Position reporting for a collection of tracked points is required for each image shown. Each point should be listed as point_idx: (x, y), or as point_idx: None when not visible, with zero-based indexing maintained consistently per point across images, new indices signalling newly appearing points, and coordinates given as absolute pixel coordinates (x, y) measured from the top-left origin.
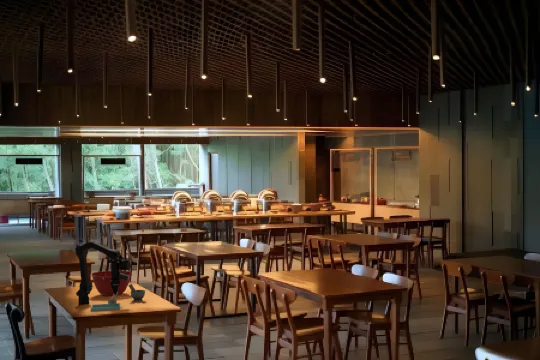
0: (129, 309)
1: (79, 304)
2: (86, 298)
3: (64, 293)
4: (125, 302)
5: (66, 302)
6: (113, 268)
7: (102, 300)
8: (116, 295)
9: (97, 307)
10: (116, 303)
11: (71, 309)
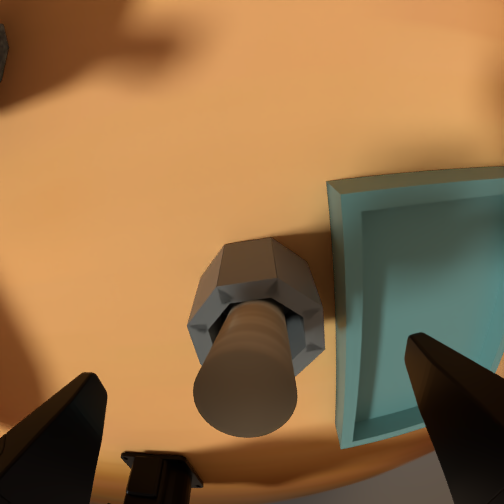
0: (479, 63)
1: (197, 484)
2: (168, 497)
3: None
4: (24, 179)
5: (123, 500)
6: None
7: (11, 382)
8: (274, 331)
9: (363, 397)
10: (352, 248)
11: (326, 484)
